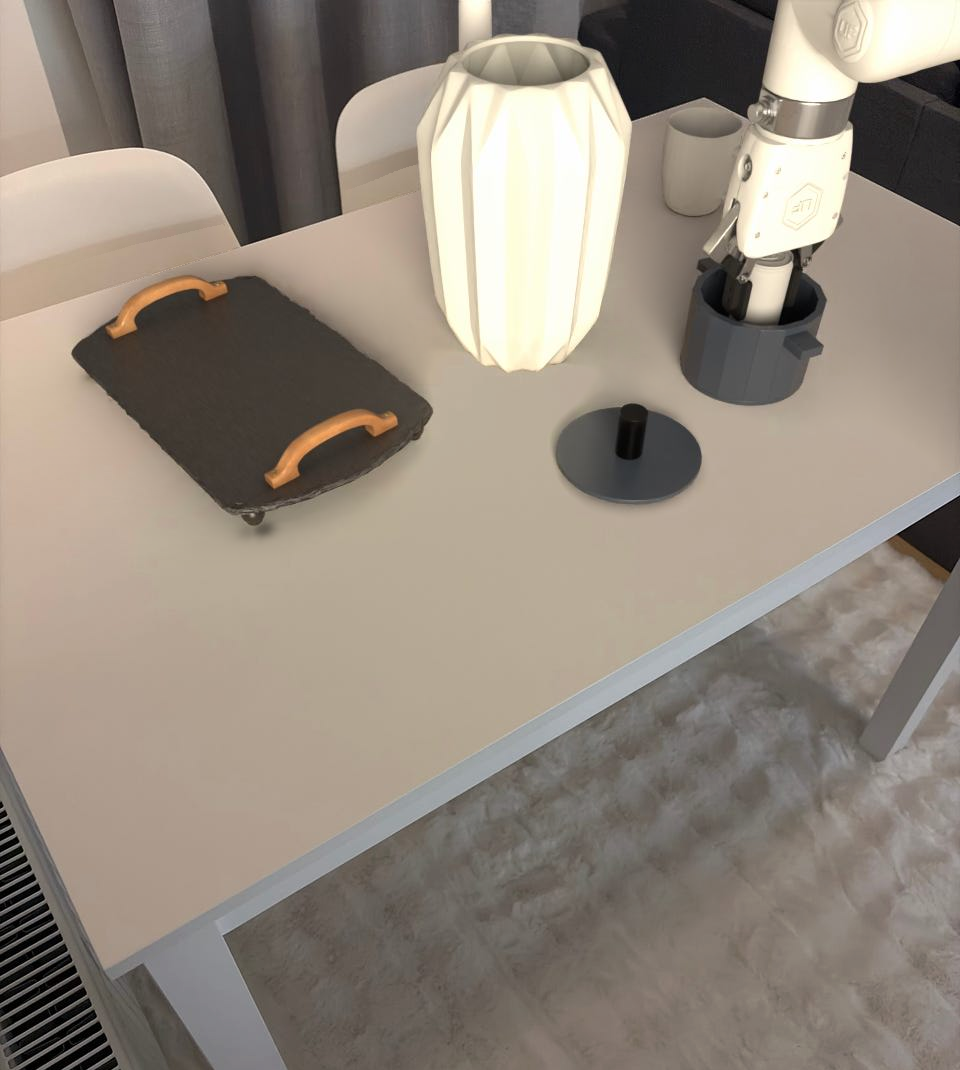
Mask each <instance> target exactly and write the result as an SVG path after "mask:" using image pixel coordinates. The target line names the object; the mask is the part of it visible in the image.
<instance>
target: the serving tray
mask: <svg viewBox="0 0 960 1070" xmlns="http://www.w3.org/2000/svg"><path fill="white" fill-rule="evenodd" d="M70 355H71V357H72V359H73V360H74V362H76V363H77V364H78V366H80V367H81V368H82V370H84V371H85V372H86V374H88V376H89V377H90V378H91V379H93V380H94V382H95V383H96V384H98V385H99V386H100V387H101V389H103V390H104V391H105V393H106V395H107V396H108V397H110V398H111V399H112V400H113V401H115V402H116V403H117V404H118V406H119V407H120V408H121V409H123V410H124V411H125V413H126V415H127V416H129V417H130V418H131V419H132V420H134V421H135V422H136V423H137V424H138V426H139V427H140V428H139V429H141V430H143V431H144V432H146V434H148V436H149V438H150V439H152V440H153V441H154V442H155V443H156V444H157V445H158V446H159V447H160V448H161V450H162V451H163V452H165V453H166V455H168V456H169V457H170V458H171V459H172V460H173V461H174V462H175V463H176V465H178V466H179V467H181V468H182V469H183V471H185V473H186V474H187V475H188V476H189V477H190V478H191V480H192V481H194V482H195V483H196V484H197V485H198V486H199V487H200V488H201V489H202V490H203V491H204V492H205V493H206V494H207V495H208V496H209V497H210V498H211V499H212V500H213V501H214V502H215V504H217V505H218V506H219V507H220V508H221V509H222V510H223V511H225V512H226V513H228V514H229V515H232V516H241V518H242V520H243V521H244V522H245V523H247V524H248V525H249V526H258V525H260V524H261V523H262V522H263V520H264V518H265V514H266V512H271V511H275V510H277V509H279V508H281V507H287V506H292V505H295V504H299V503H302V502H306V501H308V500H309V501H310V500H312V499H314V498H316V497H318V496H320V495H322V494H324V493H327V492H330V491H332V490H335V489H337V488H340V487H342V486H345V485H348V484H351V483H352V482H355V481H357V480H358V479H360V478H362V477H363V476H365V475H367V474H369V473H370V472H372V471H373V470H375V469H376V468H378V467H380V466H381V465H383V464H384V463H385V462H386V461H387V460H389V459H390V458H391V457H393V456H394V455H396V454H397V453H399V452H401V450H403V449H404V448H405V447H406V446H407V445H409V443H410V442H413V441H418V440H419V439H420V438H421V436H422V435H423V433H424V430H425V426H426V425H427V424H428V423H429V421H430V420H431V418H432V416H433V414H434V408H433V406H432V405H431V404H430V403H429V402H428V400H427V399H426V398H425V397H423V396H422V395H421V394H419V393H418V392H416V391H415V390H414V389H412V388H411V387H410V385H407V384H406V383H404V382H403V381H401V380H400V379H399V378H397V376H395V375H394V374H392V373H391V372H390V371H389V370H388V369H387V368H386V367H385V366H383V365H381V364H380V363H379V362H377V360H374V359H373V358H371V357H370V356H367V355H365V353H362V352H360V350H358V349H357V348H356V347H355V346H354V345H353V344H352V343H351V342H350V341H349V340H348V339H347V338H345V337H344V336H343V335H342V334H341V333H339V332H338V331H336V330H335V329H332V328H330V327H329V326H328V325H327V324H326V323H325V322H322V321H320V320H319V318H317V317H316V315H315V314H312V313H311V311H310V310H309V309H308V308H306V307H304V306H301V305H299V303H297V302H296V301H293V300H291V298H289V297H288V296H287V295H285V294H283V292H281V291H280V290H279V289H278V288H277V287H275V286H273V285H272V284H270V283H269V282H268V281H267V280H266V279H264V278H263V277H260V276H258V275H238V276H233V277H231V278H225V279H218V280H212V281H208V280H206V279H204V278H202V277H199V276H197V275H195V274H194V275H193V274H183V275H177V276H173V277H170V278H169V277H168V278H167V279H164V280H161V281H158V282H156V283H154V284H151V285H149V286H147V287H144V288H143V289H141V290H140V291H138V292H136V293H135V294H133V295H132V296H131V297H129V298H128V299H127V300H126V302H125V303H124V305H123V306H122V308H121V309H120V312H119V313H118V315H116V316H114V317H113V318H112V319H110V320H109V321H107V322H105V323H104V324H102V325H100V326H99V327H98V328H97V329H95V330H94V331H93V332H91V334H89V335H88V336H86V337H83V338H81V340H79V341H78V342H77V343H76V344H75V346H74V347H73V348H72V350H71V351H70Z"/></svg>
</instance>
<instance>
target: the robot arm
mask: <svg viewBox="0 0 960 1070" xmlns="http://www.w3.org/2000/svg"><path fill="white" fill-rule="evenodd" d="M958 60H960V0H777V4H776V10H775V16H774V21H773V27H772V31H771V36H770V41H769V46H768V51H767V55H766V61H765V66H764V71H763V76H762V81H761V86H760V91H759V96H758V100H757V102H756V103H753V104H750V105H749V106H748V108H747V113H746V114H747V115H746V116H747V120H748V121H749V122H750V124H749V125H748V127H747V129H746V132H745V134H744V137H743V139H742V141H741V144H740V150H739V153H738V156H737V159H736V162H735V165H734V169H733V172H732V175H731V179H730V183H729V187H728V190H727V195H726V199H725V202H724V203H723V209H722V214H721V219H720V221H721V222H720V223H719V225H718V226H717V227H716V228H715V230H714V231H713V233H712V234H711V235H710V236H709V238H708V239H707V240H706V241H705V243H704V244H703V246H702V252H703V253H704V255H706V256H707V257H710V258H711V259H713V260H714V261H715V262H717V263H718V264H719V265H720V266H721V267H722V268H723V270H725V271H726V272H727V278H726V282H725V287H724V292H723V297H722V307H723V308H724V309H725V310H726V311H727V312H728V313H729V314H730V315H731V316H732V317H734V318H735V319H736V320H737V321H741V320H744V318H745V317H746V313H747V308H748V304H749V300H750V295H751V291H752V286H753V284H752V282H751V281H750V280H749V277H750V275H751V273H752V270H753V268H754V266H755V264H756V261H757V259H758V258H760V257H765V256H769V255H773V254H777V253H781V252H785V251H789V250H790V251H791V252H792V254H793V268H792V272H791V276H790V280H789V284H788V288H787V291H786V295H785V299H784V303H783V306H785V307H787V308H788V307H792V306H793V305H794V301H795V298H796V294H797V290H798V286H799V283H800V279H801V275H802V272H804V269H805V268H807V267H809V266H810V264H811V263H812V261H813V255H814V254H815V253H816V252H817V251H818V249H819V248H820V247H822V245H824V243H825V241H826V240H827V239H828V238H830V237H831V236H832V235H833V234H834V232H835V231H836V230H837V229H838V228H839V227H840V226H841V225H842V224H843V222H844V218H843V215H842V213H841V211H842V207H843V203H844V199H845V195H846V190H847V189H846V188H847V185H848V181H849V180H848V179H849V175H850V174H849V173H850V168H851V161H852V154H853V141H854V126H853V123H852V122H851V121H850V120H849V118H850V115H851V111H852V107H853V103H854V100H855V96H856V92H857V89H858V85H859V83H864V84H875V83H881V82H885V81H889V80H893V79H896V78H899V77H904V76H907V75H910V74H914V73H917V72H919V71H921V70H925V69H930V68H933V67H936V66H941V65H943V64H947V63H951V62H954V61H958ZM751 123H752V124H751ZM731 241H732V242H731ZM730 243H731V244H730ZM729 244H730V246H729V249H728V250H727V247H728V245H729ZM742 254H743V255H745V256H744V258H743V261H742V263H741V264H740V263H739V262H738V261H740V260H741V259H740V258H741V257H742Z"/></svg>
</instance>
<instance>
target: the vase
mask: <svg viewBox="0 0 960 1070" xmlns="http://www.w3.org/2000/svg"><path fill="white" fill-rule="evenodd" d="M632 131H633V122H632V120H631V118H630V115H629V112H628V110H627V107H626V105H625V102H624V101H623V98H622V97H621V94H620V91H619V89H618V86H617V85H616V82H615V80H614V78H613V76H612V73H611V70H610V68H609V67H608V64H607V62H606V60H605V58H604V56H603V54H602V53H601V51H599V50H597V49H594V48H591V47H587V46H583V45H582V44H581V43H580V41H579V40H578V39H576V38H571V37H570V38H569V37H554V36H551V35H550V34H546V33H544V32H533V33H527V34H514V33H501V34H496V35H495V36H492V38H491V39H487V40H476V41H471V42H468V43H467V45H466V46H465V48H464V49H463V50H461V51H459V50H458V51H456V52H453V53H451V54H450V55H449V56H448V57H447V59H446V61H445V63H444V64H443V67H442V69H441V71H440V73H439V75H438V78H437V80H436V82H435V85H434V86H433V89H432V91H431V94H430V96H429V98H428V101H427V103H426V105H425V107H424V110H423V112H422V115H421V117H420V119H419V122H418V124H417V127H416V146H417V147H416V148H417V161H418V172H419V183H420V190H421V191H420V192H421V199H422V207H423V215H424V216H423V217H424V223H425V224H424V225H425V232H426V233H425V234H426V241H427V247H428V248H427V249H428V256H429V257H428V258H429V264H430V270H431V271H430V272H431V275H432V284H433V290H434V297H435V301H436V303H437V304H438V306H439V307H438V308H440V310H441V312H442V313H443V315H444V317H445V319H446V321H447V324H448V327H449V328H450V330H451V331H452V333H453V334H454V336H455V338H456V339H457V340H458V342H459V344H461V346H462V348H463V349H464V350H465V351H466V352H467V353H469V354H471V355H472V356H473V357H474V359H475V360H476V361H477V362H478V363H479V364H480V365H482V366H483V367H495V368H499V369H500V370H501V371H503V372H505V373H508V374H511V373H515V372H519V371H526V372H531V373H537V372H538V373H539V372H540V371H542V370H543V369H544V368H545V367H547V366H551V365H559V364H561V363H563V362H564V361H566V359H567V358H568V357H569V356H570V355H571V354H572V353H573V351H574V350H575V348H576V347H577V346H578V345H579V344H580V342H581V341H582V340H583V339H584V337H585V336H586V335H587V334H588V333H589V331H590V330H591V329H592V328H593V327H594V325H595V324H596V323H597V321H598V320H599V315H600V311H601V306H602V301H603V300H604V297H605V294H606V290H607V284H608V280H609V274H610V270H611V266H612V265H611V264H612V259H613V254H614V250H615V249H614V248H615V242H616V236H617V230H618V225H619V220H620V213H621V209H622V201H623V195H624V191H625V184H626V177H627V172H628V171H627V170H628V163H629V156H630V147H631V140H632V133H633V132H632Z"/></svg>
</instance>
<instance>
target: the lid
mask: <svg viewBox="0 0 960 1070" xmlns="http://www.w3.org/2000/svg"><path fill="white" fill-rule="evenodd" d="M555 460H556V461H555V462H556V465H557V467H558V469H559V471H560V472H561V474H562V475H563V477H564V478H565V479H566V480H567V481H568V482H569V483H570V484H571V485H572V486H573V487H575V488H577V490H579V491H581V492H583V493H584V494H586V495H588V496H591V497H593V498H595V499H598V500H602V501H605V502H610V503H614V504H619V505H649V504H654V503H659V502H663V501H666V500H668V499H671V498H674V497H676V496H677V495H680V494H681V493H683V492H684V491H685V490H687V489H689V487H690V486H691V485H692V484H693V483H694V482H695V480H696V479H697V477H698V475H699V474H700V471H701V467H702V463H703V462H702V461H703V455H702V449H701V446H700V444H699V442H698V440H697V438H696V437H695V436H694V434H693V433H692V432H691V431H690V430H689V429H688V428H687V427H686V426H684V425H683V424H682V423H680V422H679V421H677V420H675V419H674V418H672V417H670V416H668V415H666V414H663V413H660V412H658V411H654V410H651V409H647V407H645V406H644V405H643V404H639V403H635V402H634V403H632V402H631V403H626V404H624V405H622V406H613V407H606V408H605V407H604V408H600V409H595V410H592V411H590V412H586V413H585V414H581V415H580V416H577V417H576V418H575V419H573V420H572V421H571V422H569V423H568V424H567V425H566V426H565V427H564V428H563V429H562V431H561V432H560V434H559V435H558V437H557V440H556V444H555Z"/></svg>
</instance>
